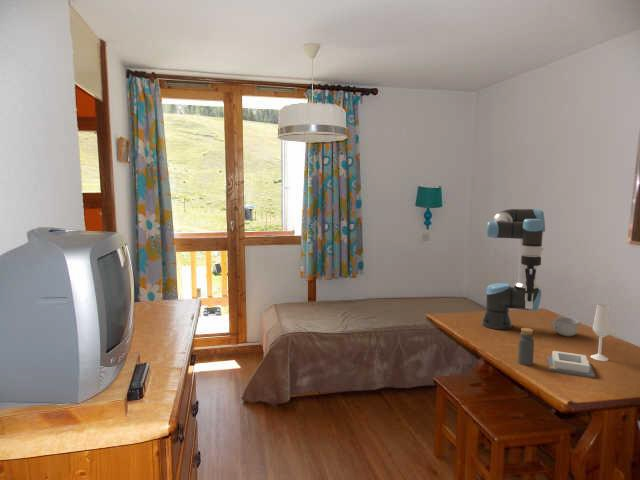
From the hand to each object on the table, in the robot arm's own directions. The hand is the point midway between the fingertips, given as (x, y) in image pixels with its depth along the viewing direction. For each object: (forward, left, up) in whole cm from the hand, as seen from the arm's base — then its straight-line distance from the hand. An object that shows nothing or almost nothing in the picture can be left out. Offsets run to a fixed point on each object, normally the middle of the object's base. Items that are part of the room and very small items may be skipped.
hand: (528, 304), depth 181 cm
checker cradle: (-3, +17, -26) cm, 31 cm away
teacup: (-49, +18, -26) cm, 58 cm away
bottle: (0, 0, -26) cm, 26 cm away
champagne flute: (-20, +30, -26) cm, 45 cm away
